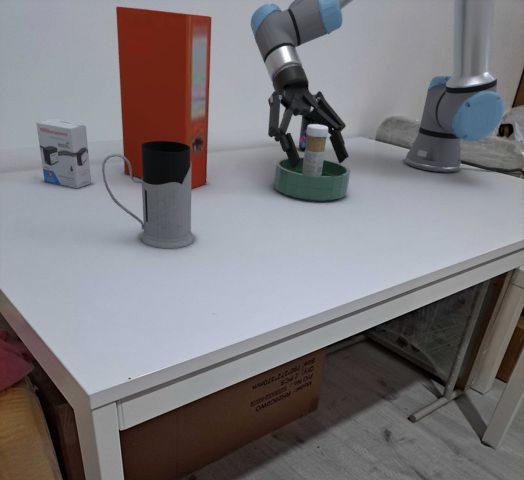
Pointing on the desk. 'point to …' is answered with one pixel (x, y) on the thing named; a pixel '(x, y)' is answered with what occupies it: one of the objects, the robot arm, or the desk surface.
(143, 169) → the glass holder
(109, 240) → the desk surface
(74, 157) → the ink box
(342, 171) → the bowl
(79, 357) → the desk surface
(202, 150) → the file binder
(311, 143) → the sprinkles bottle
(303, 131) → the supplement container
